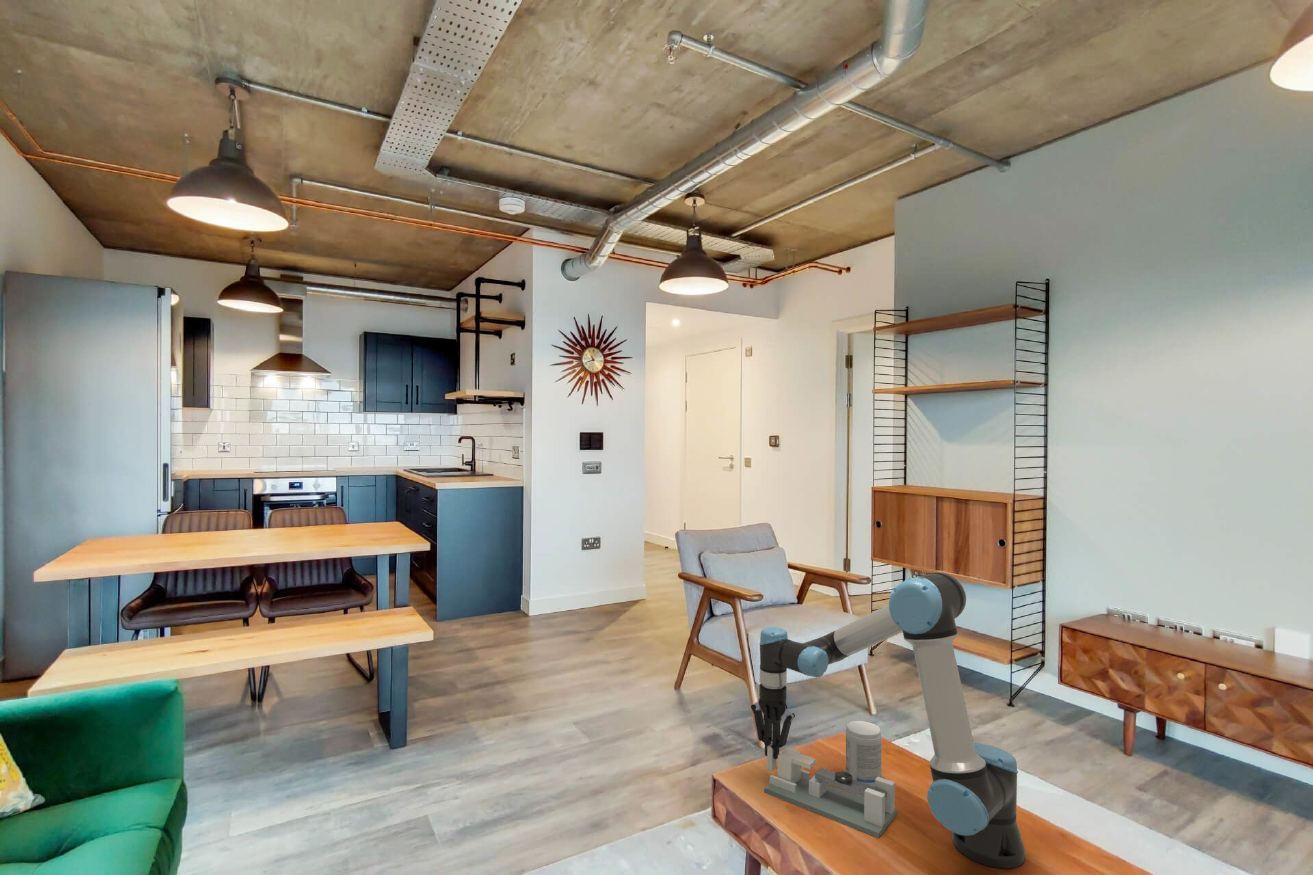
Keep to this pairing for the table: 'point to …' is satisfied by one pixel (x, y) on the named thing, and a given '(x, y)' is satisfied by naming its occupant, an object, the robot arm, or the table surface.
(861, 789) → the grey long flat bar
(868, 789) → the mount
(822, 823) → the table surface
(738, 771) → the table surface
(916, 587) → the robot arm
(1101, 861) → the table surface
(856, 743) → the supplement tub
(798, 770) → the block
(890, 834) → the table surface
